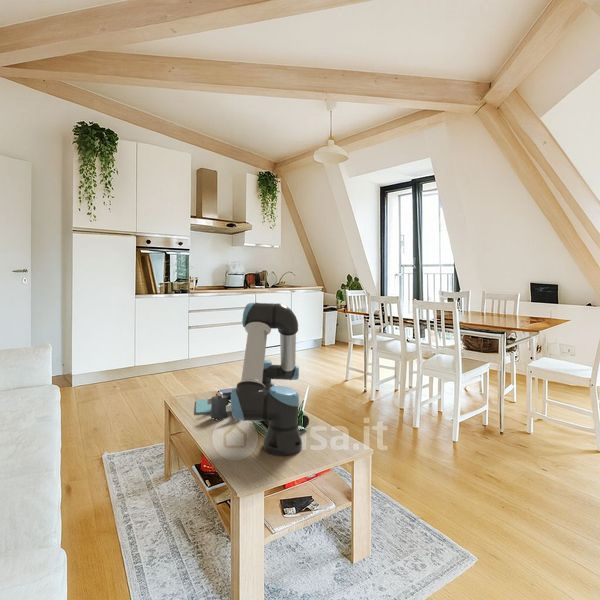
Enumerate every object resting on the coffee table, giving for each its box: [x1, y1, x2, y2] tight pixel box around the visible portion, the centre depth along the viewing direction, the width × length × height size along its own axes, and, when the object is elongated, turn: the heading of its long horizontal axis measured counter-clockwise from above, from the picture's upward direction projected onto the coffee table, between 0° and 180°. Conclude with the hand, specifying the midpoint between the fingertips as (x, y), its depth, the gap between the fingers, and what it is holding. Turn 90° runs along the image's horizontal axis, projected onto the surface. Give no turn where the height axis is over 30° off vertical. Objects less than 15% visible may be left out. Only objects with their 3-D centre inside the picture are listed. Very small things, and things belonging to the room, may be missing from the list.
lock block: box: [210, 391, 230, 421], centre depth 173 cm, size 6×5×12 cm
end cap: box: [303, 413, 310, 429], centre depth 166 cm, size 10×7×7 cm
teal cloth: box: [195, 398, 211, 415], centre depth 187 cm, size 18×12×1 cm, turn 15°
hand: (216, 405), depth 172 cm, fingers open, 13 cm apart
